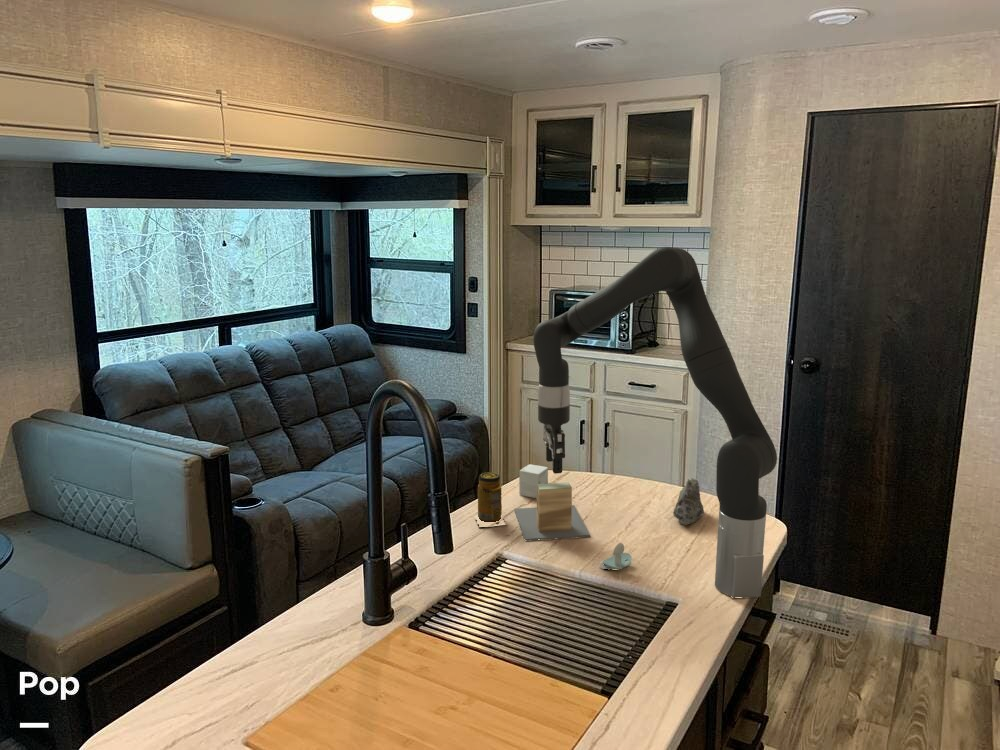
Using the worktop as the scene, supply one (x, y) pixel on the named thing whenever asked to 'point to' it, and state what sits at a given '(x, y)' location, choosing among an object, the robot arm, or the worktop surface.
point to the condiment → (489, 497)
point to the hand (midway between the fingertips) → (553, 466)
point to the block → (554, 507)
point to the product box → (532, 479)
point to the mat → (531, 532)
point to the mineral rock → (689, 503)
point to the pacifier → (617, 559)
